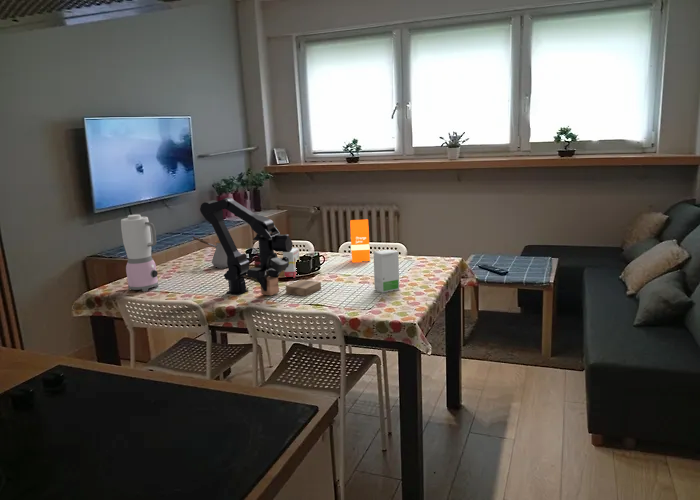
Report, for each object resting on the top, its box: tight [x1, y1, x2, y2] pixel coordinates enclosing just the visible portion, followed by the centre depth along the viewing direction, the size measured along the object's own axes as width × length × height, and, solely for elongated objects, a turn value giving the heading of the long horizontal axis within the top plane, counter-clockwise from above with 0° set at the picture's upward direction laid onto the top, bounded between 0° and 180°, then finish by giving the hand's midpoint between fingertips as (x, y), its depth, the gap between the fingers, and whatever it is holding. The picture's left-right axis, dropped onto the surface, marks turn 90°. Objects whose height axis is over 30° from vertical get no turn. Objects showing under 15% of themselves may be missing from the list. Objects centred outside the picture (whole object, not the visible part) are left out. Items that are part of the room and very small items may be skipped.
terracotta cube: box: [260, 275, 280, 296], centre depth 222 cm, size 5×5×6 cm
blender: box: [120, 214, 159, 292], centre depth 238 cm, size 16×12×32 cm
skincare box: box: [372, 249, 400, 294], centre depth 219 cm, size 8×7×16 cm
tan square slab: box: [285, 279, 322, 297], centre depth 225 cm, size 10×10×3 cm
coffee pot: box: [191, 236, 228, 269], centre depth 274 cm, size 21×12×15 cm, turn 78°
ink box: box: [282, 247, 300, 279], centre depth 249 cm, size 9×5×12 cm, turn 166°
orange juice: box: [349, 219, 371, 263], centre depth 270 cm, size 8×9×20 cm
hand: (269, 289), depth 222 cm, fingers closed on terracotta cube, 5 cm apart
